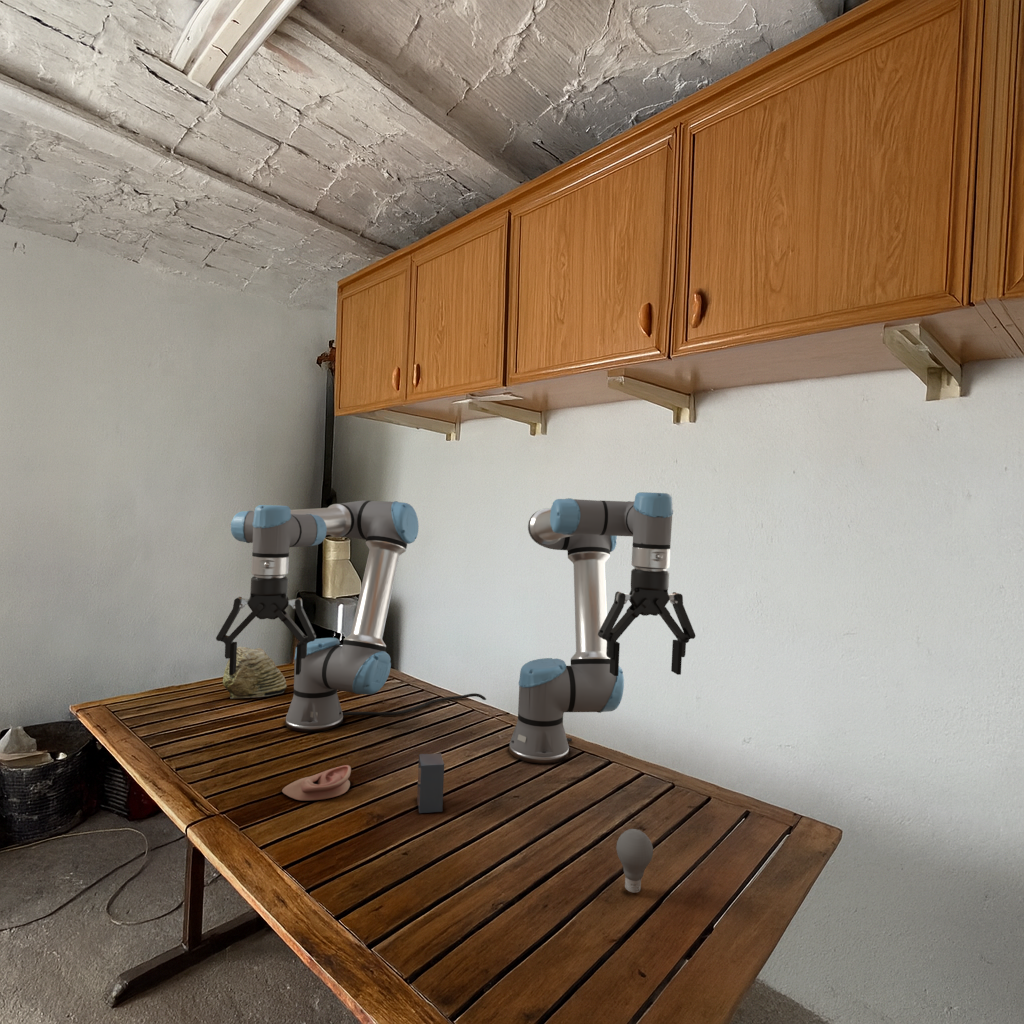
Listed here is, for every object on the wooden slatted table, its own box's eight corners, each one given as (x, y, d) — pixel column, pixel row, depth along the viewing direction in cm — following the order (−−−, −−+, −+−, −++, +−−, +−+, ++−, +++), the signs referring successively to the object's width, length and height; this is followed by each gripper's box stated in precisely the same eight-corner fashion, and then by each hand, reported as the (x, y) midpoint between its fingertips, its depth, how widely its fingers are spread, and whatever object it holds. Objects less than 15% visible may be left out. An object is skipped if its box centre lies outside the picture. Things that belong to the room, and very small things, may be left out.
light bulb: (610, 879, 108) (613, 822, 108) (644, 879, 109) (647, 822, 109) (619, 902, 102) (622, 840, 102) (655, 901, 103) (658, 840, 103)
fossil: (218, 695, 195) (220, 647, 195) (278, 685, 208) (279, 640, 207) (228, 703, 189) (230, 653, 188) (289, 692, 201) (290, 645, 201)
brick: (419, 813, 129) (421, 765, 128) (416, 800, 134) (418, 754, 134) (442, 811, 130) (444, 764, 129) (439, 798, 135) (441, 753, 135)
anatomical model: (274, 778, 132) (303, 756, 144) (273, 796, 132) (302, 774, 144) (333, 786, 130) (357, 764, 141) (332, 805, 130) (357, 781, 141)
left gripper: (203, 576, 132) (199, 678, 132) (327, 579, 136) (323, 677, 137) (213, 572, 139) (209, 668, 139) (330, 575, 144) (326, 668, 144)
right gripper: (598, 570, 121) (593, 680, 122) (715, 572, 127) (710, 677, 127) (585, 565, 129) (580, 669, 129) (696, 567, 134) (692, 667, 135)
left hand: (265, 673), depth 138 cm, fingers open, 13 cm apart
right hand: (645, 673), depth 128 cm, fingers open, 13 cm apart
